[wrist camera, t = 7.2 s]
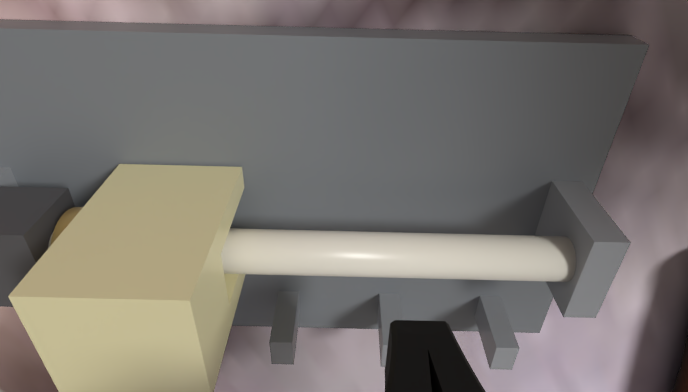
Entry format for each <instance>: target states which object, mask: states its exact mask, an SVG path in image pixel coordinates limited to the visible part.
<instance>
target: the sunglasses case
mask: <svg viewBox="0 0 688 392" xmlns="http://www.w3.org/2000/svg"><path fill="white" fill-rule="evenodd" d="M672 392H688V336H687V339H686V342H685V347H684V352H683V357H682V363H681V369H680V370H679V372H678V375H677V379H676V382H675V385H674V388H673V391H672Z"/></svg>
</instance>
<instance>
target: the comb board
mask: <svg viewBox="0 0 688 392" xmlns="http://www.w3.org/2000/svg"><path fill="white" fill-rule="evenodd" d="M648 47H649V44H647V43H645V42H643V41H641V40H639V39H637V38H635V37H633V36H631V35H595V34H556V33H516V32H477V31H438V30H398V29H359V28H320V27H280V26H241V25H202V24H162V23H123V22H83V21H44V20H5V19H0V306H7V307H13V305H12V303H11V301H10V299H9V297H8V296H9V295H10V293H11V292H12V291H13V290H14V289H15V288H16V286H17V285H18V284H19V283H20V282H21V280H22V279H23V278H24V277H25V276H26V274H27V273H28V272H29V271H30V270H31V269H32V267H33V266H34V265H35V264H36V263H37V261H38V260H39V259H40V258H41V257H42V255H43V254H44V253H45V252H46V251H47V250H48V248H49V247H50V246H51V245H52V244H53V242H54V241H55V240H56V239H57V238H58V236H59V235H60V234H61V233H62V232H63V230H64V229H65V228H66V227H67V226H68V225H69V223H70V222H71V221H72V220H73V219H74V217H75V216H76V215H77V214H78V213H79V211H80V210H81V209H82V208H83V207H84V206H85V204H86V203H87V202H88V201H89V200H90V198H91V197H92V196H93V195H94V194H95V192H96V191H97V190H98V189H99V188H100V187H101V185H102V184H103V183H104V182H105V181H106V179H107V178H108V177H109V176H110V175H111V173H112V172H113V171H114V170H115V169H116V168H117V166H118V165H119V164H144V165H185V166H226V167H242V171H243V179H244V190H243V193H242V196H241V199H240V201H239V204H238V207H237V210H236V213H235V216H234V218H233V221H232V224H231V227H230V230H229V232H228V235H227V238H226V241H225V244H224V247H223V249H222V252H221V258H222V264H223V270H224V274H246V275H245V278H244V282H243V286H242V289H241V293H240V297H239V300H238V304H237V308H236V311H235V315H234V319H233V322H232V326H272V331H271V337H270V342H269V343H270V352H271V362H272V364H294V356H295V348H296V340H297V331H298V327H314V328H357V329H379V345H380V360H381V366H382V367H385V366H386V357H387V348H388V339H389V330H390V323H391V322H393V321H395V320H419V321H446V322H447V323H448V324H449V326H450V328H451V330H452V331H479V333H480V336H481V340H482V343H483V347H484V350H485V354H486V357H487V360H488V364H489V367H490V369H510V370H512V368H513V365H514V362H515V359H516V356H517V353H518V351H519V346H518V343H517V340H516V338H515V335H514V332H526V333H540V330H541V327H542V325H543V322H544V320H545V317H546V314H547V312H548V309H549V307H550V304H551V301H552V299H553V297H554V299H555V301H556V303H557V305H558V307H559V309H560V311H561V313H562V315H563V317H585V318H596V316H597V313H598V311H599V309H600V307H601V305H602V303H603V301H604V299H605V296H606V294H607V292H608V290H609V288H610V286H611V284H612V281H613V279H614V277H615V275H616V273H617V271H618V269H619V267H620V264H621V262H622V260H623V258H624V256H625V254H626V252H627V249H628V247H629V245H630V241H629V240H628V239H627V238H626V236H625V235H624V234H623V232H622V231H621V230H620V229H619V227H618V226H617V225H616V224H615V222H614V221H613V220H612V219H611V217H610V216H609V215H608V214H607V212H606V211H605V210H604V209H603V207H602V206H601V205H600V204H599V202H598V201H597V200H596V199H595V197H594V196H593V195H592V194H593V191H594V189H595V186H596V183H597V181H598V178H599V175H600V173H601V170H602V168H603V165H604V162H605V160H606V157H607V154H608V152H609V149H610V147H611V144H612V141H613V139H614V136H615V133H616V131H617V128H618V126H619V123H620V120H621V118H622V115H623V113H624V110H625V107H626V105H627V102H628V99H629V97H630V94H631V92H632V89H633V86H634V84H635V81H636V78H637V76H638V73H639V71H640V68H641V65H642V63H643V60H644V57H645V55H646V52H647V50H648Z"/></svg>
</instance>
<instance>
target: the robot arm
mask: <svg viewBox="0 0 688 392" xmlns="http://www.w3.org/2000/svg"><path fill="white" fill-rule="evenodd" d="M385 392H485V390H484V389H483V387H482V385H481V384H480V382H479V380H478V379H477V377H476V375H475V373H474V372H473V370H472V368H471V366H470V365H469V363H468V361H467V359H466V358H465V356H464V354H463V352H462V350H461V348H460V346H459V344H458V342H457V340H456V338H455V336H454V334H453V332H452V330H451V328H450V326H449V324H448V323H447V322H446V321H419V320H395V321H393V322H391V323H390V330H389V339H388V348H387V357H386V366H385Z"/></svg>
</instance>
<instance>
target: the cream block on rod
mask: <svg viewBox="0 0 688 392" xmlns="http://www.w3.org/2000/svg"><path fill="white" fill-rule="evenodd" d="M243 190H244V179H243V171H242V167H226V166H185V165H144V164H119V165H118V166H117V168H116V169H115V170H114V171H113V172H112V173H111V175H110V176H109V177H108V178H107V179H106V181H105V182H104V183H103V184H102V185H101V187H100V188H99V189H98V190H97V191H96V192H95V194H94V195H93V196H92V197H91V198H90V200H89V201H88V202H87V203H86V204H85V206H84V207H83V208H82V209H81V210H80V211H79V213H78V214H77V215H76V216H75V217H74V219H73V220H72V221H71V222H70V223H69V225H68V226H67V227H66V228H65V229H64V230H63V232H62V233H61V234H60V235H59V236H58V238H57V239H56V240H55V241H54V242H53V244H52V245H51V246H50V247H49V248H48V250H47V251H46V252H45V253H44V254H43V255H42V257H41V258H40V259H39V260H38V261H37V263H36V264H35V265H34V266H33V267H32V269H31V270H30V271H29V272H28V273H27V274H26V276H25V277H24V278H23V279H22V280H21V282H20V283H19V284H18V285H17V286H16V288H15V289H14V290H13V291H12V292H11V293H10V295H9V296H8V297H9V299H10V301H11V303H12V305H13V307H14V309H15V310H16V312H17V314H18V316H19V318H20V320H21V322H22V324H23V325H24V327H25V329H26V331H27V333H28V335H29V337H30V339H31V341H32V342H33V344H34V346H35V348H36V350H37V352H38V354H39V356H40V357H41V359H42V361H43V363H44V365H45V367H46V369H47V371H48V372H49V374H50V376H51V378H52V380H53V382H54V384H55V386H56V387H57V389H58V391H59V392H214V389H215V385H216V381H217V377H218V374H219V370H220V366H221V363H222V359H223V355H224V352H225V348H226V344H227V341H228V337H229V333H230V330H231V326H232V322H233V319H234V315H235V311H236V308H237V304H238V300H239V297H240V293H241V289H242V286H243V282H244V278H245V275H246V274H224V270H223V264H222V258H221V252H222V249H223V247H224V244H225V241H226V238H227V235H228V232H229V230H230V227H231V224H232V221H233V218H234V216H235V213H236V210H237V207H238V204H239V201H240V199H241V196H242V193H243Z"/></svg>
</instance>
